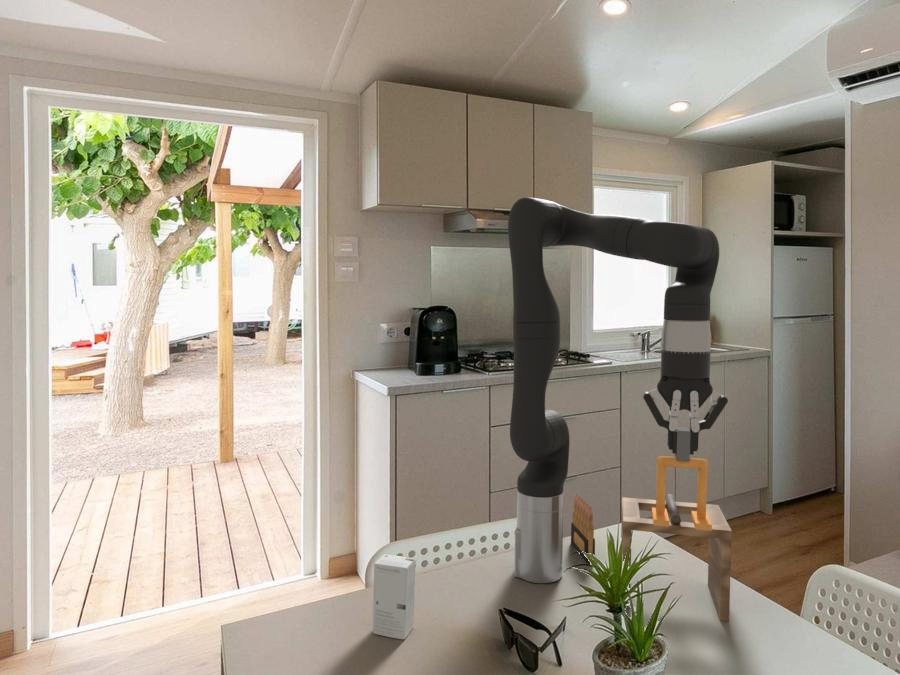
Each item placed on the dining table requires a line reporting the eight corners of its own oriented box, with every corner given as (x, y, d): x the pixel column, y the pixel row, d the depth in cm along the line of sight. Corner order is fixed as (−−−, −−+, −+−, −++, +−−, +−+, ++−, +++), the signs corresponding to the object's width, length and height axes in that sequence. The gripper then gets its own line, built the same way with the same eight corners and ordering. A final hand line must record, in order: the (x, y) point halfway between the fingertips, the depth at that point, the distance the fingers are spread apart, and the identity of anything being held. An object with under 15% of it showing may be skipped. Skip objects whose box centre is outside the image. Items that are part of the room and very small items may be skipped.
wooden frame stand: (621, 607, 111) (623, 512, 110) (620, 574, 125) (622, 489, 124) (729, 621, 107) (732, 521, 106) (716, 585, 120) (718, 496, 119)
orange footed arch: (653, 525, 100) (656, 431, 99) (651, 512, 106) (653, 424, 105) (711, 530, 98) (714, 435, 97) (706, 517, 104) (709, 427, 103)
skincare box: (371, 634, 102) (371, 563, 101) (382, 621, 106) (382, 552, 106) (406, 641, 100) (406, 568, 100) (416, 627, 105) (416, 557, 104)
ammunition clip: (595, 563, 130) (596, 507, 130) (586, 563, 130) (587, 508, 129) (578, 543, 141) (579, 492, 140) (570, 543, 141) (571, 492, 140)
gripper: (642, 348, 98) (639, 455, 100) (735, 351, 95) (732, 461, 96) (640, 345, 106) (637, 445, 107) (727, 347, 102) (723, 450, 103)
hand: (682, 452), depth 101 cm, fingers closed on orange footed arch
